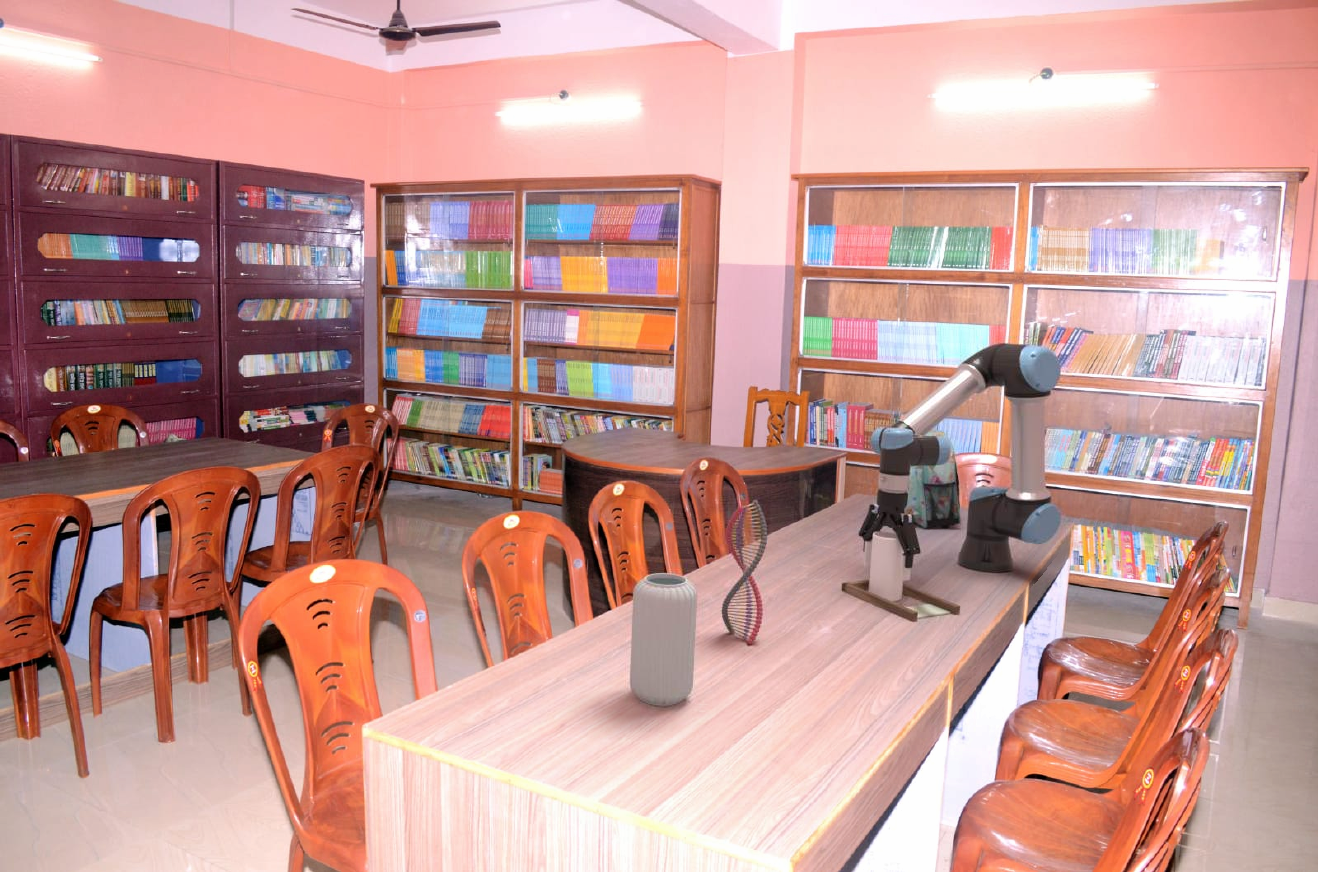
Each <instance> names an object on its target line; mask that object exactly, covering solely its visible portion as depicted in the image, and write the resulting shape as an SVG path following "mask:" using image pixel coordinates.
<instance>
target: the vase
mask: <svg viewBox="0 0 1318 872" xmlns="http://www.w3.org/2000/svg"><path fill="white" fill-rule="evenodd" d="M697 608H698V592H697V589H696V587H695V585H694V584H693V582H691V581H690V580H688V579H687V577H685V576H683V575H680V574H675V573H668V572H667V573H666V572H662V573H661V572H660V573H659V572H657V573H651V574H648V575H645V577H643V578H641V580H639V581H638V582H637V583H636V584H635V586H634V588H633V593H632V617H631V620H632V621H631V641H630V642H631V643H630V665H629V668H630V669H629V686H630V689H631V691H632V693H633V694H634V695H635V696H636V698H638V699H639V700H640V701H642V702H644V703H646V704H647V705H652V706H658V707H661V706H662V707H664V706H665V707H666V706H672V705H676V704H679V703H680V702H681V701H683V700H685V699H686V698H687V697H688V696H689V695H690V694H691V692H692V689H693V687H694V671H695V670H694V669H695V653H696V652H695V649H696V629H697V628H696V627H697V612H698V610H697Z"/></svg>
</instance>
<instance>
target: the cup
mask: <svg viewBox="0 0 1318 872" xmlns="http://www.w3.org/2000/svg"><path fill="white" fill-rule="evenodd" d="M871 541H872V553H871V566H869V567H870V570H869V579H870V580H869V579H868V580H869V589H868V592H871V593H873V594H875V595H878V596H880V597H882V598H885V599H887V600H890V601H892V602H897V601H901V600H902V597H903V594H902V587H903V584H904V581H900V568H901V557H902V554H903V553H904V551H903V549H902V547H901V544H900V542H899V540H898V537H897V535H896V532H895V531H889V530H880V531H876V532H874V533H873V540H871Z"/></svg>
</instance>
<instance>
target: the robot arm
mask: <svg viewBox="0 0 1318 872" xmlns="http://www.w3.org/2000/svg"><path fill="white" fill-rule="evenodd" d="M1061 371H1062V369H1061V364H1060V360H1059V358H1058V356H1057V355H1056V353H1055V352H1053V350H1052V349H1050V348H1048V347H1046V346H1042V345H1041V346H1040V345H1036V344H1022V343H1021V344H1020V343H1007V342H1001V343H996V344H995V343H994V344H991V345H988V346H987V347H985V348H983V349H980V350H978V351H977V352H976V353H974V354H972V355H971V356H969V357H967V359H965V360H964V361H962V362H961V363H960V364H958V366H957V368H956V371H955V373H953V375H952V376H950V377H949V378H948V379H947V380H945V382H943V383H942V384H941V385H939V386H938V387H937V388H936V389H935V390H933V391H932V392H931V393H930V394H928V396H926V397H925V398H924V399H923V400H921V401H920V402H919V403H918V404H916V406H914V407H913V408H912V409H910V410H909V411H908V412H907V413H906V414H904V415H903V416H902V417H901V418H899V419H898V420H897V421H896V422H895V423H894V424H892V425H891V426H889V427H878V428H876V429H875V430H874V431H873V432H872V434H871V436H870V440H869V443H870V447H871V450H872V451H873V452H874V453H875V454H877V455H879V468H878V469H879V470H878V483H877V485H878V486H877V487H878V488H879V489H878V490H877V493H876V503H871V504H869V506H868V507H869V508H868V512H867V514H866V517H865V519H864V520H863V523H862V525H861V527H860V529H859V532H858V537H861V538H862V539H863V549H862V550H863V563H862V566H863V567H871V553H872V540H873V533H874V532H876V531H882V529H883V528H884V527H888V528H889V529H891V530H893V531H892V532H896V535H897V537H898V540H899V542H900V544H901V547H902V549H903V551H904V553H903V554H902V557H901V568H900V581H903V582H905V581H911V571H912V568H913V566H914V563H913V562H914V556H915V555H920V554H921V553H922V552H921V547H920V542H919V539H918V534H917V531H916V526H915V522H914V515H913V514H905V513H904V509H905V507H906V506H907V503H908V493H907V492H906V491H908V490H909V480H910V470H911V466H936V465H942V464H945V463H946V462H947V461H948V460H949V458H950V453H951V447H950V444H949V442H948V440H947V439H946V438H944V437H942V436H935V435H933V436H925V435H926V434H927V433H928V432H929V431H931V430H934V429H935V428H936V427H937V426H938V425H939V424H941V423H942V422H943V421H944V420H945V419H946V418H947V417H949V416H950V415H951V414H952V413H953V412H954V411H956V410H957V409H958V408H959V407H960V406H962V405H963V404H964V403H965V402H967V401H968V400H969V399H970V398H971V397H972V396H974V394H981V393H983V392H984V391H985V390H987V389H988V388H990V387H995V386H998V387H999V386H1000V387H1003V392H1004V393H1003V395H1004V398H1005V399H1006V400H1008V401H1009V403H1010V474H1011V477H1010V478H1011V479H1010V481H1011V483H1010V484H1011V487H1008V486H1007V487H1006V486H977V487H974V488H972V489H971V490H970V493H969V498H968V499H969V500H968V508H967V522H966V537H965V539H964V541H963V543H962V546H961V549H960V551H959V552H958V555H957V564H958V565H960V566H962V567H965V568H967V569H971V570H975V571H980V572H988V573H1004V572H1005V573H1006V572H1009V571H1012V570H1013V569H1014V568H1013V567H1014V560H1013V557H1012V552H1011V547H1010V542H1009V541H1010V540H1009V538H1013V539H1016V540H1019V541H1022V542H1024V543H1027V544H1035V545H1043V544H1046V543H1047V542H1049V541H1050V540H1051V539H1052V538H1053V537H1054V536H1055V534H1056V533H1058V529H1059V528H1060V524H1061V519H1062V515H1061V511H1060V509H1059V508H1058V506H1057V505H1055V504H1054V503H1052V492H1051V491H1049V489H1047V488H1046V453H1045V452H1046V445H1045V443H1046V441H1045V440H1046V437H1045V436H1046V434H1045V433H1046V431H1045V429H1046V428H1045V427H1046V425H1045V422H1046V421H1045V420H1046V419H1045V416H1046V415H1045V414H1046V413H1045V410H1046V409H1045V407H1046V406H1045V404H1046V403H1045V402H1046V400H1047V399H1048V398H1049V397H1051V394H1052V392H1051V391H1052V390H1053V389H1054V388H1056V387H1057V385H1058V381H1060V378H1061Z"/></svg>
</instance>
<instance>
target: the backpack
mask: <svg viewBox="0 0 1318 872" xmlns="http://www.w3.org/2000/svg"><path fill="white" fill-rule="evenodd" d="M933 435H935V436H942V437H944V438H946V439H947V440H948V442H949V444H950V447H951V453H950V458H949V460H948V461H947V462H946V463H945V464H942V465H936V466H911V470H910V480H909V490H908V491H906V492H907V493H908V503H907V506H906V507H905V509H904V513H905V514H913V515H914V524H917V525H919V526H920V527H922V528H924V529H926V528H927V529H928V528H932V529H933V528H940V529H941V528H942V529H948V528H950V527H953V526H955V525H959V524H961V522H962V519H961V518H962V517H961V512H960V509H961V507H960V505H961V503H960V482H959V481H960V480H959V474H958V468H957V462H956V461H957V460H956V452H955V448H954V446H953V444H952V442H951V440H950V438H949V436H948V435H947V434H946V433H945V432H944V431H942V430H937V429H932V430H930V431H929V432H928V433H927V434H926V435H925V436H933Z"/></svg>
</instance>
